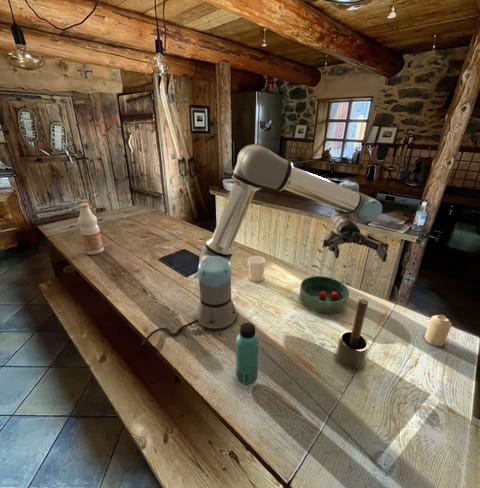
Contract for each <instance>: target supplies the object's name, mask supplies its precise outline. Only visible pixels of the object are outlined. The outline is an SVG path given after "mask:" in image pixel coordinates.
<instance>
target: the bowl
mask: <svg viewBox="0 0 480 488" xmlns="http://www.w3.org/2000/svg"><path fill="white" fill-rule="evenodd" d="M322 291H324V292H326V294H327V297H326V298H324V299H322V298H321V297H320V295H319V294H320V292H322ZM332 292H337V293H338V295H339V296H338V298H337V299H333V298H332V297H331V293H332ZM349 297H350V290H349V289H348V287H347V285H345V284H344V283H343V282H342V281H340V280H338V279H335V278H333V277H329V276H324V275H314V276H309V277H305V279H303V280H302V281H301V282H300V288H299V299H300V302H301V303H302V304H303V305H304V306H305V307H307V308H308V309H309V310H312V311H314V312H317V313H320V314H327V315H328V314H330V315H332V314H338V313H341V312H343V311H345V310H346V308H347V306H348V302H349Z"/></svg>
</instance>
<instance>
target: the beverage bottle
mask: <svg viewBox="0 0 480 488" xmlns="http://www.w3.org/2000/svg"><path fill="white" fill-rule="evenodd" d="M239 328H240V329H239V333H238V334H237V336H236V338H235V344H236V345H235V376H236V380H237V381H238V382H239V383H240V385H243V386H251V385H253V384H255V383H256V381H257V380H258V377H259V376H258V374H259V343H260V338H259V336H258V335H257V334H256V326H255V325H254V324H253V323H252V322H243V323H242V324H240V327H239Z"/></svg>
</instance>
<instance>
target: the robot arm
mask: <svg viewBox="0 0 480 488" xmlns="http://www.w3.org/2000/svg"><path fill="white" fill-rule="evenodd" d="M231 178H232V181H233V184H232V186H231V189H230V191H229V194H228V197H227V199H226V202H225V204H224V206H223V209H222V211H221V214H220V216H219V219H218V221H217V224H216V227H215V229H214V232H213V234H212V236H211V237H210V238H208V239H207V240H206V242H205V244H204V246H203V247H202V248H201V250H200V252H199V256H198V262H199V263H198V266H197V278H198V288H199V303H198V306H197V309H196V314H195V317H196V319H195V320H193V321H191V322H189V323H186V324H184V325H182V326H180V327H179V328H178V329H177V331H176V332H172V331H171V330H170V329H169V328H168V327H165V326H164V327H159V328H157V329H154V330H153V331H151V332H150V333H149V334H148V335H147V336H146V337H145V339H144V340H143V341H142V343H141V346H142V347H143V346H145V345H146V343H147V342H148V341H149V339H150V338H151V337H152V336H153V335H154V334H155V333H157V332H160V331H166V332H167V333H168V334H169V335H170V336H172V337H175V336H177V335H179V334H180V333H181V331H182V330H183V329H185V328H187V327H189V326H191V325H194V324H196V323H198V325H199V326H201V327H202V328H204V329H207V330H211V331H221V330H224V329H227V328H229V327H230V326H231V325H233V324H234V323H235V322H236V319H237V310H236V306H235V304H234V302H233V299H232V266H231V263H230V261H231V259H232V257H233V254H234V252H235V249H234V248H233V245H234V243H235V240H236V238H237V236H238V233H239V231H240V228H241V226H242V224H243V221H244V219H245V217H246V215H247V212H248V210H249V208H250V206H251V203H252V200H253V198H254V195H255V194H256V192H257V191H259V190H261V189H262V188H263V187H266V188H270V189H272V190H275V191H278V192H281V191H284V190H285V191H288V192H290V193H294V194H296V195H299V196H301V197H305V198H307V199H310V200H312V201H315V202H317V203H320V204H324V205H327V206H328V207H331V208H334V210H333V213H332V214H331V223H332V226H333V228H334V230H335V231H334V230H331V231H330V233H329V234H328V235H327V236H326V237H325V238H323V242H322V247H323V248H328V249H327V250H328V251H330V252H333V255H334V257H335V259H339V255H340V247H339V246H340V245H344V244H356V245H358V246H365V247H367V248H369V249H372V250H374V251H375V252H376V254H377V256H378V257H379V258H380V261H382V262H383V263H386V261H387V258H388V251H389V247H390V244H389V243H388V242H386V241H384V240H382V239H380V238H378V237H376V236H374V235H373V234H372V233H366V235H365V234H363V233H361V230H360V228H359V227H358V225H357V223H356V222H355V220H354V216H355V217H358V218H360V219H361V220H362V221H366V222H373V221H375V220H377V219H378V218H380V216H381V214H382V212H383V205H382V203H381V202H380V201H379V200H378V199H376V198H373V197H372V196H368V195H366V194H364V193H363V192H360V185H359V184H358V183H357V182H352V181H343V182H340V183H335V182H333V181H331V180H329V179H326V178H323V177H321V176H318V175H316V174H313V173H310V172H308V171H305V170H303V169H300V168H298V167H295V166H294V164H293V162H292V161H290V160H287V159H285V158H284V157H283V158H282V157H281V156H279V155H278V154H276V153H275V152H273V151H272V150H270V148H266V147H264V146H262V145H261V144H258V143H255V144H253V143H252V144H247V145H246V146H244V147H243V148H241V150H239V152H238V154H237V157H236V165H235V166H234V169H233V172H232V175H231Z"/></svg>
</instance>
